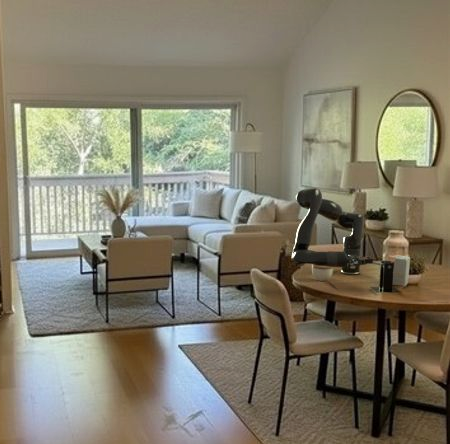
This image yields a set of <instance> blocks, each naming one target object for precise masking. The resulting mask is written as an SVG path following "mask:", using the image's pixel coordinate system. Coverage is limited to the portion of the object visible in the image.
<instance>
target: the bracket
mask: <svg viewBox="0 0 450 444" xmlns="http://www.w3.org/2000/svg"><path fill="white" fill-rule="evenodd" d="M384 262H386V263H384ZM380 263H383V264H384V267H383V266H381V265H379V266H380V267H379V269H380V270H379V284H378V285H379V286H369V288H370V289H371V290H372V291H374V292H375V293H391V294H392V293H401V294H402V293H403V292H402V291H400V290H399V289H397V287H394V285H393V273H394V263H395V262H392V261H391V260H380Z"/></svg>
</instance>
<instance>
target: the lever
mask: <svg viewBox="0 0 450 444" xmlns="http://www.w3.org/2000/svg"><path fill="white" fill-rule="evenodd" d="M362 257H363V258H364V259H368V258H366V257H367V256H362ZM361 262H362V261H361ZM384 263H386V262H384ZM366 265H367V264H365V266H366ZM371 265H376V266H383V267H384V264H383V263H381V262H377V261H373V263H372V264H371Z"/></svg>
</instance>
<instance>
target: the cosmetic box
mask: <svg viewBox="0 0 450 444" xmlns="http://www.w3.org/2000/svg"><path fill="white" fill-rule="evenodd" d="M393 263H394V271H393V286H400V287H405V286H407V285H408V284H409V276H410V275H409V274H410V266H411V265H410V263H411V256H406V255H400V254H399V255H397V256H396V257H395V258H394V262H393Z"/></svg>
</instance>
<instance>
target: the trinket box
mask: <svg viewBox="0 0 450 444" xmlns="http://www.w3.org/2000/svg"><path fill="white" fill-rule="evenodd" d="M333 272H334V267H328V266H315V265H313V264H311V273H312V276H313V278H314V279H315V280H316V281H318V282H319V281H321V282H326V281H327V282H328V280H329V279H330V278H331V277H332V275H333Z"/></svg>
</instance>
